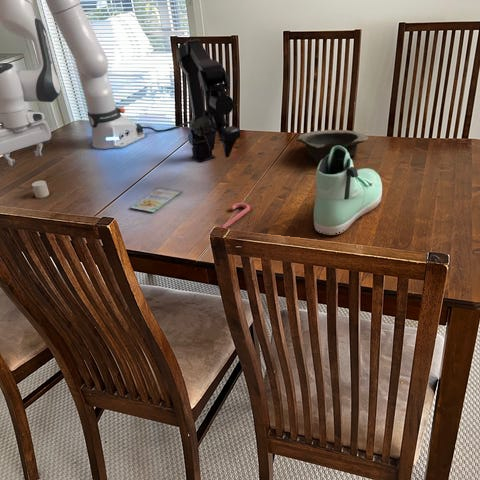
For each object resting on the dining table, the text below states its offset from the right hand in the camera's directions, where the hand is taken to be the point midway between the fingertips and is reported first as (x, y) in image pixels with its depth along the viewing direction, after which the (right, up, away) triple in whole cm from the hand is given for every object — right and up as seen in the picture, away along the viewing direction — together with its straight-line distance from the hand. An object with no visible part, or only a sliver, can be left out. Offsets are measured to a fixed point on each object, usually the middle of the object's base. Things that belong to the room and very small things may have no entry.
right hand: (219, 153), depth 159 cm
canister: (-60, -13, +4) cm, 62 cm away
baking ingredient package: (-20, -16, -6) cm, 26 cm away
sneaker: (+38, -19, -20) cm, 47 cm away
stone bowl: (+40, +2, +15) cm, 43 cm away
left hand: (-64, -2, -1) cm, 64 cm away
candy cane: (+5, -22, -20) cm, 30 cm away
